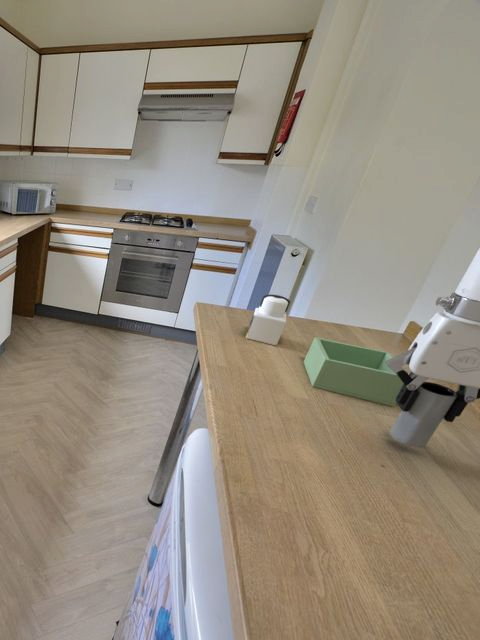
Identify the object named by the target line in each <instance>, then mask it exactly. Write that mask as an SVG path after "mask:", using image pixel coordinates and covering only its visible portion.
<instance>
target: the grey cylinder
mask: <svg viewBox="0 0 480 640" xmlns="http://www.w3.org/2000/svg"><path fill="white" fill-rule="evenodd" d="M417 391H418V392H419V395H418V397H417V398H416V400H415V402H414V403H413V405H412V407H411V408H410V410H409V411H407V412H405V411H402V410H401V412H400V413H399V415H398V417H397V419H396V420H395V422H394V424H393V425H392V427H391V428H390V431H389V435H390V436H391V437H392V438H393V439H395V440H396V441H397V442H399V443H402V444H405V445H407V446H410V447H414V448H424V447H426V445H427V444H428V443H429V441H430V440H431V438H432V436H433V435H434V434H435V432H436V430H437V429H438V427H439V425H440V424H441V423H442V421H443V420H444V416H445V414H446V413H447V411H448V410H449V408H450V407H451V405H452V403H453V402H454V400H455V399H456V397H457V393H456V390H454V389H452V388H450V387H447V386H445V385H442V384H440V383H435V382H430V381H425V382H424V383H423V384H421V385H420V386H419V387H418V389H417Z"/></svg>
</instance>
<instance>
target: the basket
mask: <svg viewBox="0 0 480 640" xmlns="http://www.w3.org/2000/svg"><path fill="white" fill-rule="evenodd" d="M393 357H394V356H393V355H392V353H391V352H389V351H385V350H380V349H374V348H370V347H365V346H359V345H355V344H351V343H345V342H340V341H335V340H330V339H325V338H320V337H315V336H314V338H313V341H312V343H311V345H310V346H309V349H308V352H307V354H306V356H305V358H304V360H303V365H304V367H305V370H306V373H307V376H308V379H309V381H310V384H311V387H313V388H316V389H321V390H325V391H327V392H328V391H329V392H331V393H332V392H333V393H336V394H341V395H345V396H348V397H354V398H357V399H360V400H361V399H362V400H364V401H365V400H366V401H369V402H373V403H378V404H382V405H385V406H390V407H394V408H395V405H397V402H396V397H397V395H398V393H399V391H400V390H401V388H402V386H403V384H404V383H403V382H402V381H401V379H400V378H399V377H398V375H396V374H395V373H394V372H393V371H392V370H391V369H390V368H389V367H388V366H387V365H386V361H387V360H389V359H391V358H393Z"/></svg>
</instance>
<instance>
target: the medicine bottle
mask: <svg viewBox="0 0 480 640" xmlns="http://www.w3.org/2000/svg"><path fill="white" fill-rule="evenodd" d="M290 304H291V301H290V299H288V298H287V297H285V296H283V295H280V294H279V295H278V294H266V295H263V296H262V299H261V301H260V304H259V306H258V307H256V308H255V309H254V311H253V315H252V317H251V319H250V322H249V324H248V328H247V331H246V334H245V339H247V340H251V341H255V342H258V343H263V344H268V345H271V346H278V343H279V341H280V339H281V336H282V333H283V331H284V328H285V326H286V324H287V312H288V309H289V306H290Z"/></svg>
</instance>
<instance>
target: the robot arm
mask: <svg viewBox="0 0 480 640" xmlns="http://www.w3.org/2000/svg"><path fill="white" fill-rule="evenodd" d="M435 306H436V307H437V306H438V307H441V308H443V309H444V310H438V311H437V312H436V313H435V314H434V315H433V316H432V317H431V318H430V319H429V320H428V321H427V322H426V324H425V325H424V326H423V328H422V329H421V330H420V331H419V332H418V334H417V336H416V337H415V338H414V340H413V341H412V342H411V345H410V346H409V348H408V349H407V350H406V351H403V352H401V353H399V354H397V355H395V356H393V358H391V359H389V360H387V361H386V365H387V366H388V367H389V368H390V369H391V370H392V371H393V372H394V373H395V374H396V375H398V377H399V378H400V379H401V381H402V382H403V383H404V384H403V386H402V388H401V390H400V391H399V393H398V395H397V397H396V405H397V406H398V407H399V409H400V410H401V412H402V411H405V412H407V411H409V410H410V408H411V407H412V405H413V403H414V402H415V400H416V398H417V397H418V395H419V392H418V391H417V389H418V387H419V386H420V385H421V384H423V383H424V382H427V380H428V379H430V380H435V381H439V382H440V381H441V382H445V383H449V384H455V385H457V388H456V390H455V392H456V393H457V397H456V399H455V400H454V402H453V403H452V405H451V407H450V408H449V410H448V411H447V413H446V414H445V416H444V418H443V420H444V421H446V422H448V423H454V421H455V419H456V417H457V418H458V417H460V416H461V415H462V413H463V412H464V410H465V409H466V407H467V406H468V404H470V403H474V402H476V401H477V400H478V399H480V247H479V248H478V250H477V252H476V254H475V255H474V257H473V259H472V261H471V262H470V265H469V266H468V268H467V269H466V271H465V273H464V275H463V276H462V278H461V280H460V282H459V284H458V285H457V288H456V289H455V291H454V292H451V294H450V295H449V296H446V297H444V296H439V297H438V298H437V299H436V301H435ZM405 364H406V365H408V368H409V371H408V372H407V370H406V369H405V368H404V367H403V366H404V365H405Z"/></svg>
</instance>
